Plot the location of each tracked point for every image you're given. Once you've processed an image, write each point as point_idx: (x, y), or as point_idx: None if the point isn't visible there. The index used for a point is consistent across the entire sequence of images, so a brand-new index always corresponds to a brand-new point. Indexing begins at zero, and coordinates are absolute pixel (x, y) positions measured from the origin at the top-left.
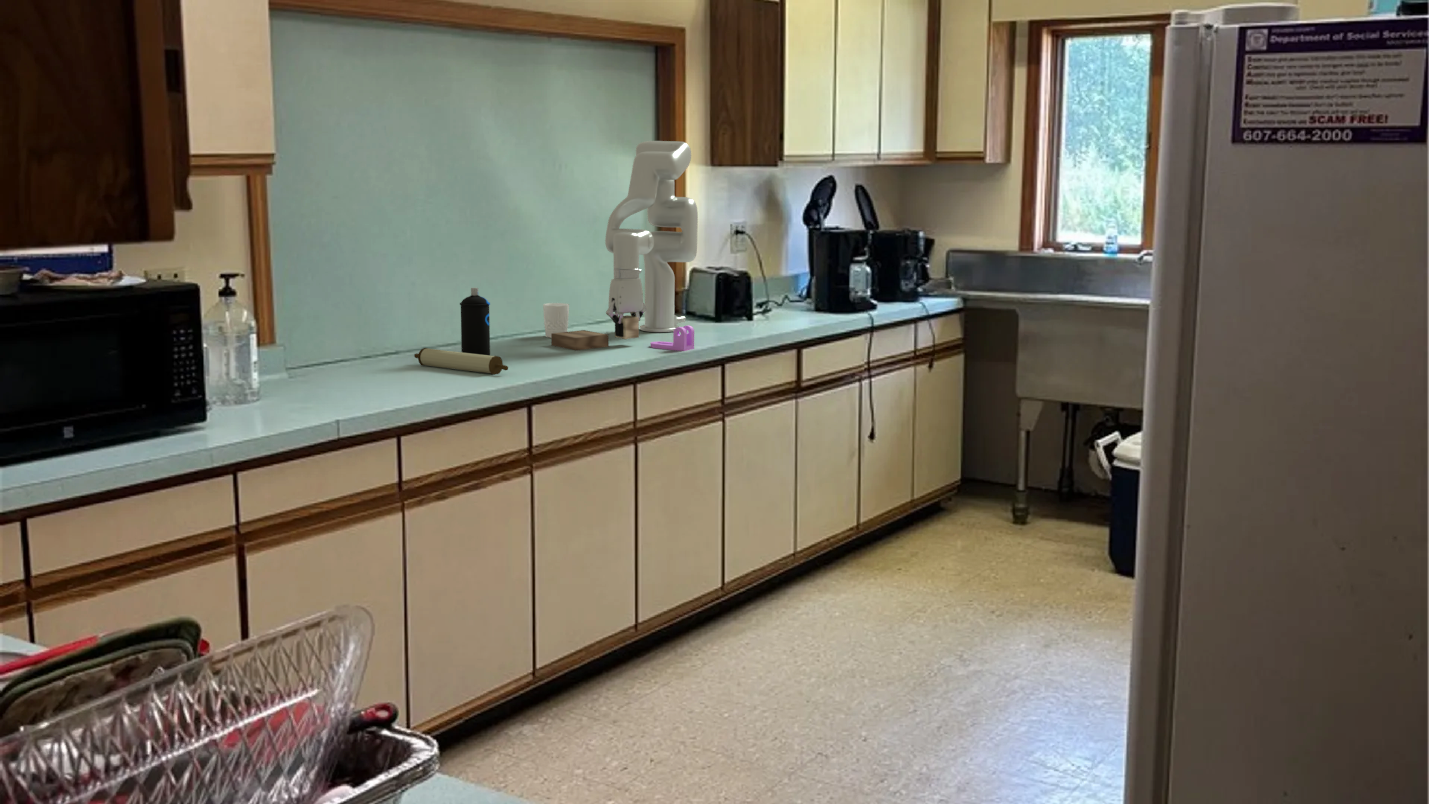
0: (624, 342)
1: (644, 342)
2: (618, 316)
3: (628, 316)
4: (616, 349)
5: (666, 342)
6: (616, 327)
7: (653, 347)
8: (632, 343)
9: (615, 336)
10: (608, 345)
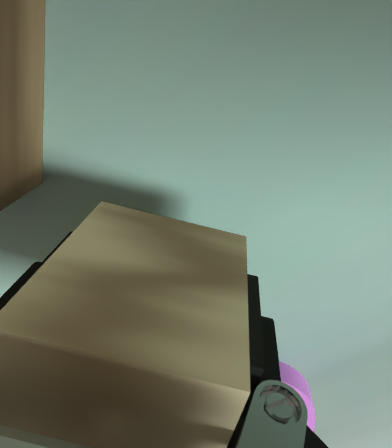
0: (285, 144)
1: (369, 255)
2: (58, 344)
3: (160, 436)
4: (7, 285)
5: None
6: None
7: None
8: (275, 220)
9: (99, 208)
10: (37, 185)
